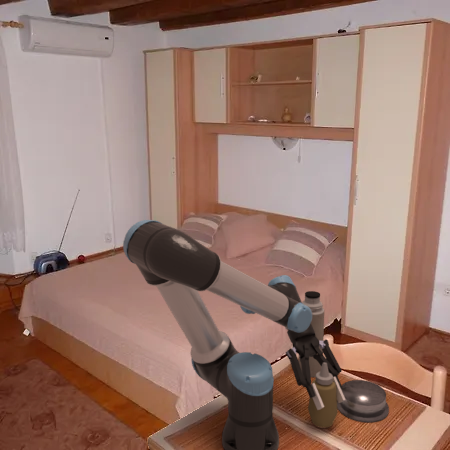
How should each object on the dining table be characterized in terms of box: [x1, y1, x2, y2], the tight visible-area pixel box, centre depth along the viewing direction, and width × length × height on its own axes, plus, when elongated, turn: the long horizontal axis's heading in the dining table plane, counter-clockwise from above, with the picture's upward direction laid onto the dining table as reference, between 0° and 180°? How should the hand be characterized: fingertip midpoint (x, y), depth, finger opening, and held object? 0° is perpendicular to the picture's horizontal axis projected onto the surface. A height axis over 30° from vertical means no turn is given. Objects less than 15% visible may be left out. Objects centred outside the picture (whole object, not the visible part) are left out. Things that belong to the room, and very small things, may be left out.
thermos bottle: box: [298, 290, 325, 378], centre depth 162 cm, size 8×8×28 cm
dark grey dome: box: [337, 379, 390, 424], centre depth 145 cm, size 15×15×5 cm
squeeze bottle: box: [307, 362, 339, 429], centre depth 135 cm, size 8×8×18 cm
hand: (331, 404), depth 132 cm, fingers closed on squeeze bottle, 6 cm apart
